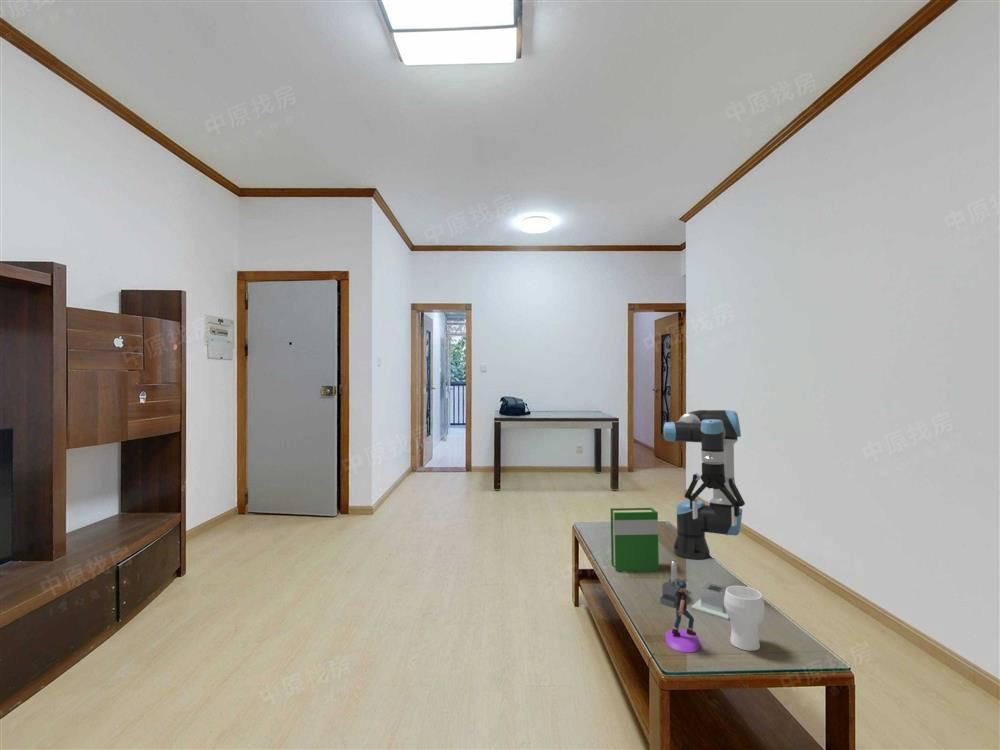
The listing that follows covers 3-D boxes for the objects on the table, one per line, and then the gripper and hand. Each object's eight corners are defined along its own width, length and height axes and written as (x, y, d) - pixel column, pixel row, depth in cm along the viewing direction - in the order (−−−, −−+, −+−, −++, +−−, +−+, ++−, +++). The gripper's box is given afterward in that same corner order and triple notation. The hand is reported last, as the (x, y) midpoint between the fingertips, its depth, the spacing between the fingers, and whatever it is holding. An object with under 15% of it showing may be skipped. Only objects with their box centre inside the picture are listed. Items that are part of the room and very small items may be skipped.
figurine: (706, 649, 139) (705, 586, 139) (677, 654, 137) (675, 590, 137) (687, 633, 148) (685, 574, 148) (659, 637, 146) (658, 577, 146)
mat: (704, 597, 173) (704, 595, 173) (740, 607, 164) (739, 605, 164) (690, 608, 164) (690, 606, 164) (727, 620, 156) (727, 618, 156)
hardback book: (615, 571, 197) (614, 512, 197) (611, 565, 204) (610, 508, 205) (658, 571, 197) (657, 512, 198) (653, 564, 204) (651, 507, 205)
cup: (717, 635, 146) (716, 585, 147) (751, 633, 147) (749, 584, 147) (738, 655, 136) (736, 601, 136) (773, 652, 137) (772, 599, 137)
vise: (678, 589, 180) (678, 552, 180) (692, 593, 176) (691, 555, 176) (660, 603, 168) (659, 564, 169) (674, 607, 165) (673, 567, 165)
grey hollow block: (708, 599, 169) (708, 582, 169) (729, 605, 164) (729, 588, 164) (701, 606, 164) (700, 588, 164) (722, 613, 159) (722, 594, 159)
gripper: (674, 460, 180) (675, 517, 179) (746, 467, 162) (748, 531, 162) (683, 458, 185) (684, 513, 185) (753, 464, 168) (755, 526, 167)
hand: (714, 521), depth 173 cm, fingers open, 13 cm apart
